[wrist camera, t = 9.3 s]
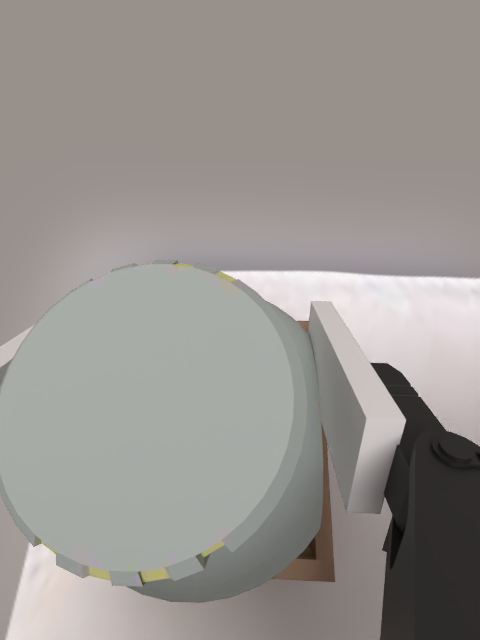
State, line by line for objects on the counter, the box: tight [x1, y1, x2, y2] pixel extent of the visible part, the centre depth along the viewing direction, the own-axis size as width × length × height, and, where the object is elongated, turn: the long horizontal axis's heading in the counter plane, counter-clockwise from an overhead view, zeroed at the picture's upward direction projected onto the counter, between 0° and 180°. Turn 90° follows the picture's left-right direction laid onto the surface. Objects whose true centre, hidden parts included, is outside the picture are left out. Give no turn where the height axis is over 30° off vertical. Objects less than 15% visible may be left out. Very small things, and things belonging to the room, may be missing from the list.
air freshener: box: [0, 260, 323, 603], centre depth 10 cm, size 11×8×10 cm
